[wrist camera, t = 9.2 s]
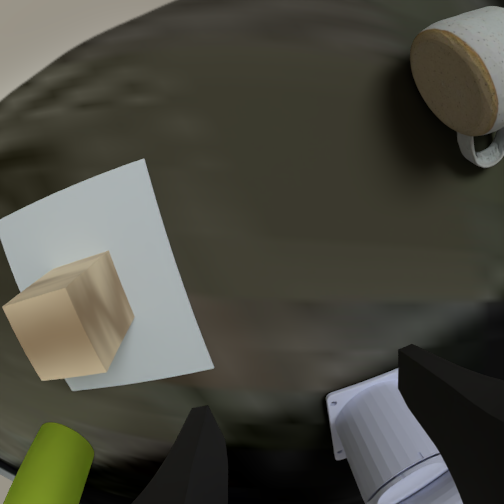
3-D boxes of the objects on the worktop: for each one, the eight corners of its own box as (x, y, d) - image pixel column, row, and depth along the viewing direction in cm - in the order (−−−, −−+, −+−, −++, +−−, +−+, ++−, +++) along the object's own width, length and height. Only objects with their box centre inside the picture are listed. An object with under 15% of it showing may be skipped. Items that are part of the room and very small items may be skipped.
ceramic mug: (383, 46, 16) (456, 8, 8) (453, 20, 15) (520, -6, 8) (452, 186, 19) (533, 206, 11) (508, 141, 18) (579, 148, 11)
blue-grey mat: (214, 367, 20) (214, 368, 20) (72, 390, 20) (72, 390, 20) (144, 158, 17) (144, 158, 16) (-4, 221, 16) (-5, 221, 16)
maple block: (134, 316, 19) (106, 372, 13) (79, 329, 19) (41, 380, 13) (108, 250, 18) (65, 287, 12) (52, 268, 18) (2, 306, 12)
